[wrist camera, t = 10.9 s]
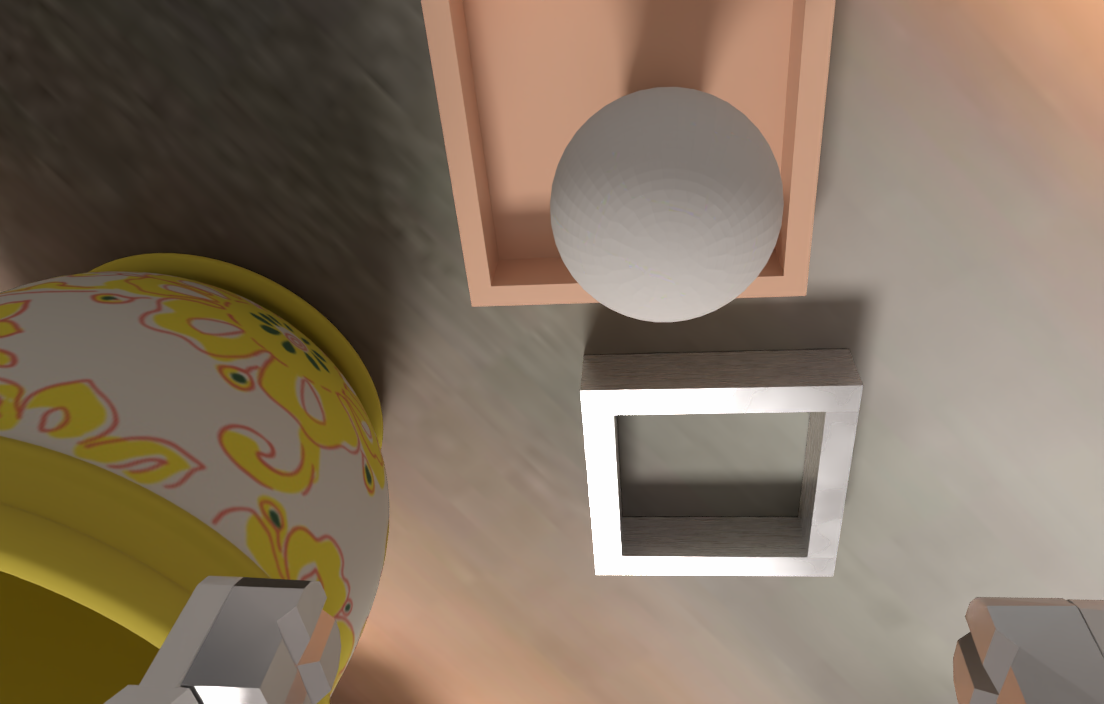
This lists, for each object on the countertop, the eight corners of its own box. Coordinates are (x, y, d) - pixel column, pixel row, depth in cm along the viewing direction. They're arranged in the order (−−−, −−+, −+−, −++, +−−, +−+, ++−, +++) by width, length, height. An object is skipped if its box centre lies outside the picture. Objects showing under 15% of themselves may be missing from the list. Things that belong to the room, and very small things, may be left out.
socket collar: (848, 348, 32) (863, 385, 30) (822, 535, 37) (833, 576, 35) (583, 355, 33) (580, 391, 31) (598, 534, 39) (596, 574, 37)
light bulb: (735, 208, 28) (776, 376, 20) (566, 199, 28) (537, 359, 20) (764, 30, 25) (828, 140, 16) (572, 21, 25) (540, 125, 17)
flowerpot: (27, 114, 29) (-503, 387, 16) (491, 302, 32) (385, 671, 18) (15, 452, 39) (-316, 798, 25) (371, 573, 42) (244, 944, 28)
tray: (825, -100, 23) (844, -90, 21) (793, 260, 30) (805, 295, 27) (431, -65, 25) (412, -52, 22) (483, 271, 31) (472, 306, 29)
